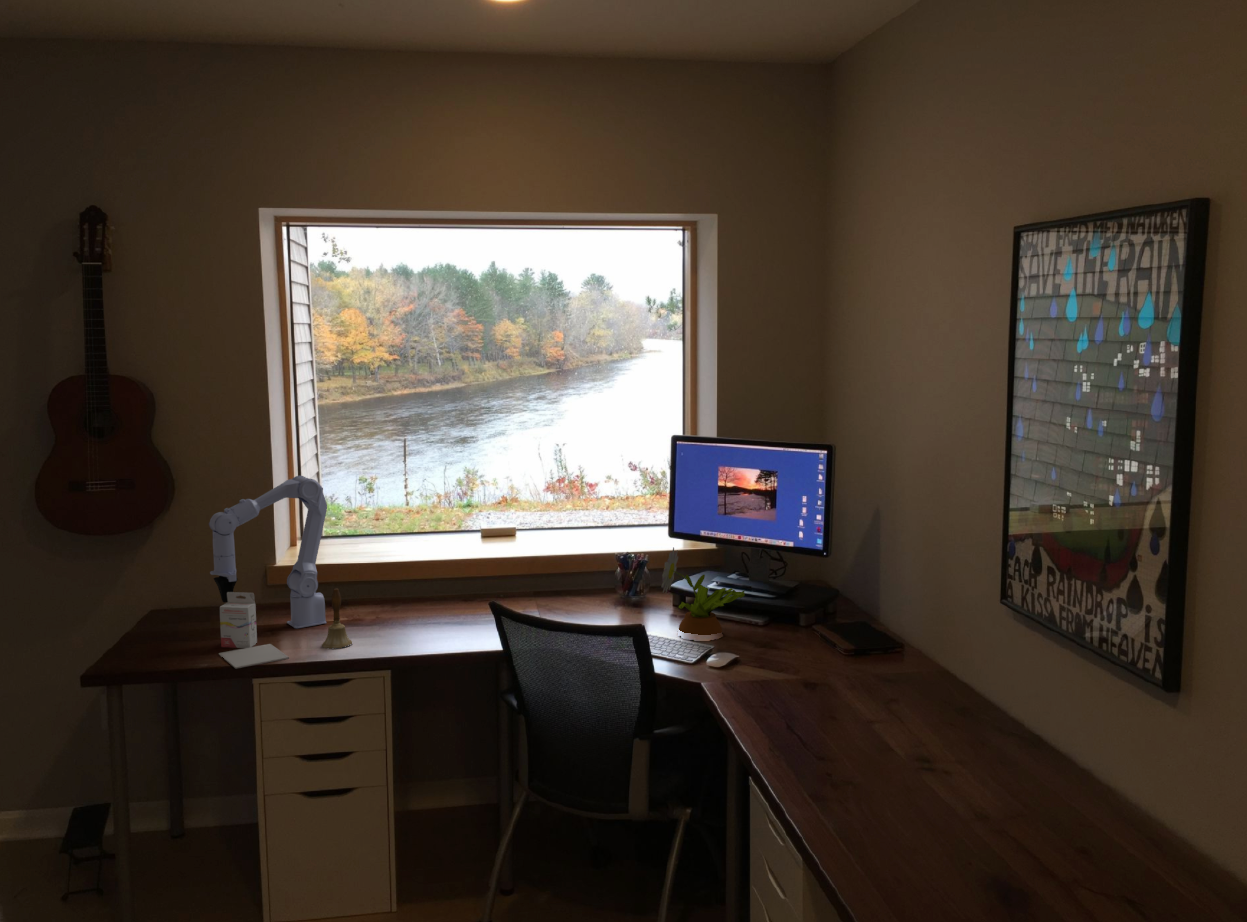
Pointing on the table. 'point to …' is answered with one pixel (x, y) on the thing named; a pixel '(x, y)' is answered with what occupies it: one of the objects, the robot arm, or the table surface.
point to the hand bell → (336, 626)
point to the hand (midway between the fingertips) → (226, 601)
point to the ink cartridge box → (238, 621)
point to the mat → (253, 656)
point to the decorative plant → (698, 602)
